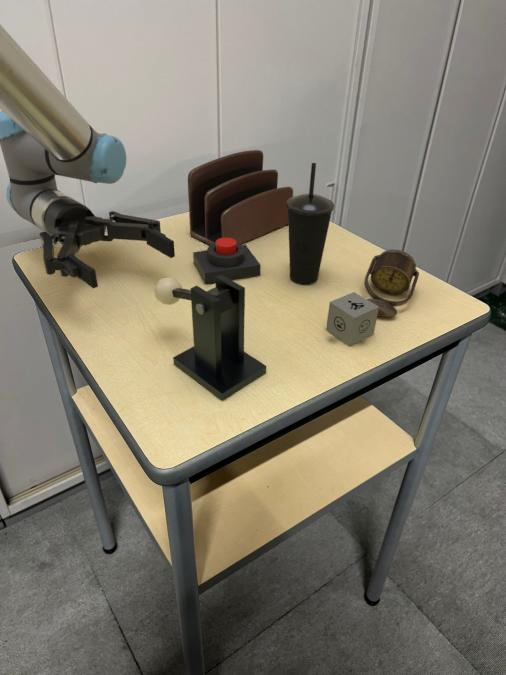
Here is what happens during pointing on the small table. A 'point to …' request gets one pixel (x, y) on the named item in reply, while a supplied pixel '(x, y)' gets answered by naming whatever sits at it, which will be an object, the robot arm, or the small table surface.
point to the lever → (188, 293)
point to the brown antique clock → (391, 279)
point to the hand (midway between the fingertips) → (135, 263)
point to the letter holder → (235, 199)
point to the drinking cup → (307, 233)
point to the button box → (226, 264)
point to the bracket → (219, 343)
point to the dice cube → (352, 318)
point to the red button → (225, 246)
